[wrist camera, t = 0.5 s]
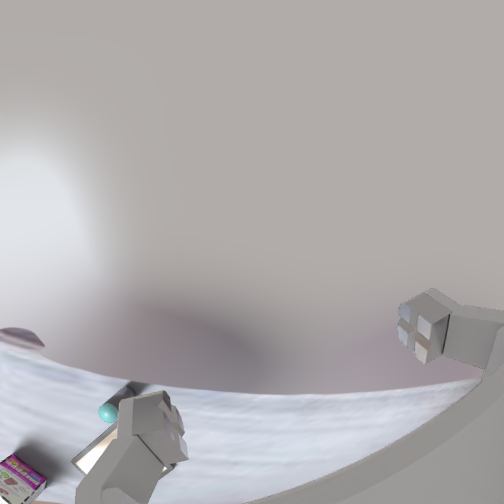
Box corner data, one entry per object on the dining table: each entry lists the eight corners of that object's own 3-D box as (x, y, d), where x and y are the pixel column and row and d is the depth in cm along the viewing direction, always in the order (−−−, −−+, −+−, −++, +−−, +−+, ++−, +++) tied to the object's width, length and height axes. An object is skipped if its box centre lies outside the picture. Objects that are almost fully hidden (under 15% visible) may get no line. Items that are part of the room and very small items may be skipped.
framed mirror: (174, 466, 52) (174, 469, 51) (121, 504, 48) (120, 506, 47) (120, 417, 53) (118, 419, 51) (72, 459, 49) (69, 461, 48)
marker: (139, 394, 54) (120, 416, 41) (129, 403, 53) (108, 426, 40) (128, 382, 54) (106, 401, 41) (118, 392, 54) (94, 412, 41)
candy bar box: (10, 465, 46) (-23, 489, 29) (12, 453, 47) (-23, 476, 30) (45, 490, 46) (16, 520, 30) (47, 478, 47) (17, 509, 31)
